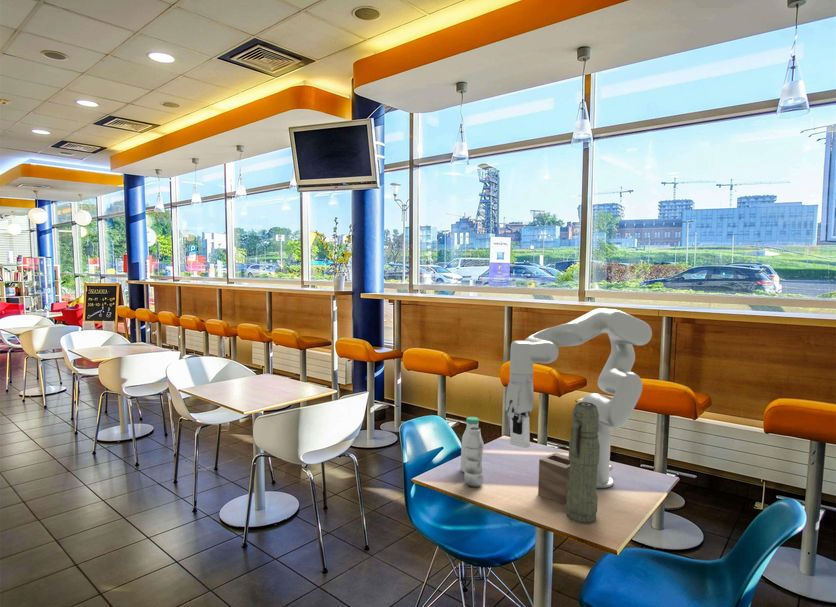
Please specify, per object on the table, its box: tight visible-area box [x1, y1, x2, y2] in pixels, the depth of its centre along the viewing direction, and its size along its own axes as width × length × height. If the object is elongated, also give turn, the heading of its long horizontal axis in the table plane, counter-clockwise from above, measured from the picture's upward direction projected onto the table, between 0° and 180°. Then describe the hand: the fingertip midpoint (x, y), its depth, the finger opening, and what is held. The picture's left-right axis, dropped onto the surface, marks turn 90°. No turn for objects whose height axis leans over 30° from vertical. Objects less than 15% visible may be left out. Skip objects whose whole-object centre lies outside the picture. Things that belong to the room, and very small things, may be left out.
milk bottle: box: [460, 416, 482, 474], centre depth 190 cm, size 8×8×20 cm
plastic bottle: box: [463, 426, 485, 487], centre depth 177 cm, size 6×7×20 cm
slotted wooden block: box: [537, 452, 570, 505], centre depth 170 cm, size 10×10×12 cm
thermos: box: [566, 401, 600, 525], centre depth 155 cm, size 9×12×35 cm
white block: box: [509, 415, 531, 449], centre depth 170 cm, size 2×6×10 cm, turn 43°
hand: (519, 432), depth 170 cm, fingers closed on white block, 2 cm apart
